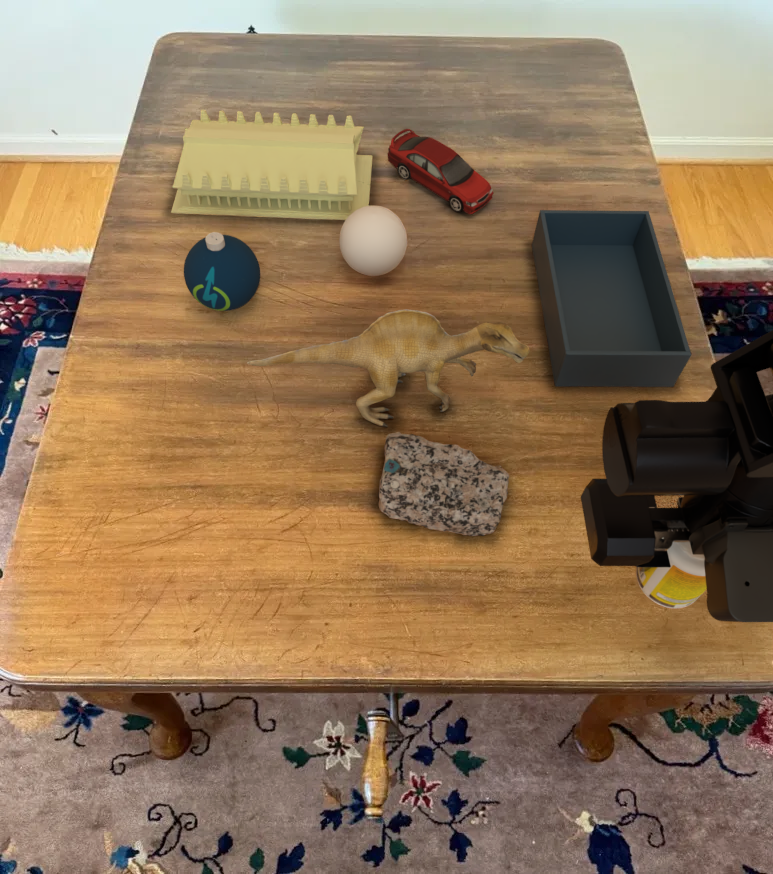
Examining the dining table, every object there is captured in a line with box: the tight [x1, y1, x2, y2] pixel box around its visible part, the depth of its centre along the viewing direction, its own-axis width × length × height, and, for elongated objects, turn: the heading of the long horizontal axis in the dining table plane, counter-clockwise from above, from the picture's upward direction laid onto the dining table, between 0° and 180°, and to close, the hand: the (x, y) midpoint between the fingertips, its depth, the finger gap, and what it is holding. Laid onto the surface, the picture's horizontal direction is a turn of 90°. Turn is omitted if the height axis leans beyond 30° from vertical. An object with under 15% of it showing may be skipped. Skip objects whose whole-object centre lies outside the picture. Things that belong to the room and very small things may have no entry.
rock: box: [378, 431, 510, 537], centre depth 71 cm, size 13×9×4 cm
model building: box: [170, 109, 373, 221], centre depth 95 cm, size 25×14×7 cm, turn 88°
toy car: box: [386, 128, 495, 215], centre depth 96 cm, size 6×15×5 cm, turn 44°
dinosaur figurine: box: [246, 308, 530, 428], centre depth 74 cm, size 8×26×13 cm, turn 97°
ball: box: [338, 205, 408, 277], centre depth 87 cm, size 8×8×8 cm
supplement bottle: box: [635, 530, 707, 609], centre depth 59 cm, size 6×6×10 cm
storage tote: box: [531, 209, 692, 388], centre depth 85 cm, size 22×13×6 cm, turn 1°
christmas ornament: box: [183, 231, 261, 312], centre depth 83 cm, size 8×8×10 cm
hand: (676, 566), depth 61 cm, fingers closed on supplement bottle, 6 cm apart
